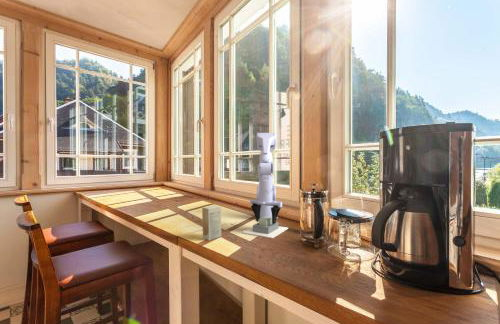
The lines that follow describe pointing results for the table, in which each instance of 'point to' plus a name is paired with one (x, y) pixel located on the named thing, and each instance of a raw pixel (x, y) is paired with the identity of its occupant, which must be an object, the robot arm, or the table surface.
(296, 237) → the table surface
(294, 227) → the table surface
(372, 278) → the table surface
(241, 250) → the table surface
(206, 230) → the skincare box
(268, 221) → the key block
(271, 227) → the slot holder
